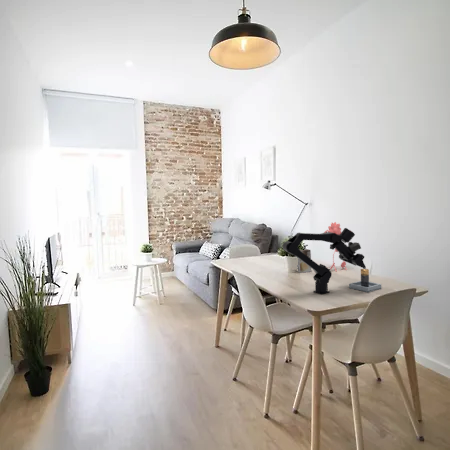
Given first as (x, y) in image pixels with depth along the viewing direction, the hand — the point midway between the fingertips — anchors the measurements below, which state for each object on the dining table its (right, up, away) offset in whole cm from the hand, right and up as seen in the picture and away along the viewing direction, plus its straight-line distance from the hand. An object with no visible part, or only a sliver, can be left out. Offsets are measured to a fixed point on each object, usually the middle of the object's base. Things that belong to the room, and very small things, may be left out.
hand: (360, 266), depth 191 cm
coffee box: (-21, -10, +51) cm, 56 cm away
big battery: (+3, -12, +1) cm, 12 cm away
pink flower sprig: (+3, -9, +54) cm, 54 cm away
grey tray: (+3, -13, +1) cm, 13 cm away
